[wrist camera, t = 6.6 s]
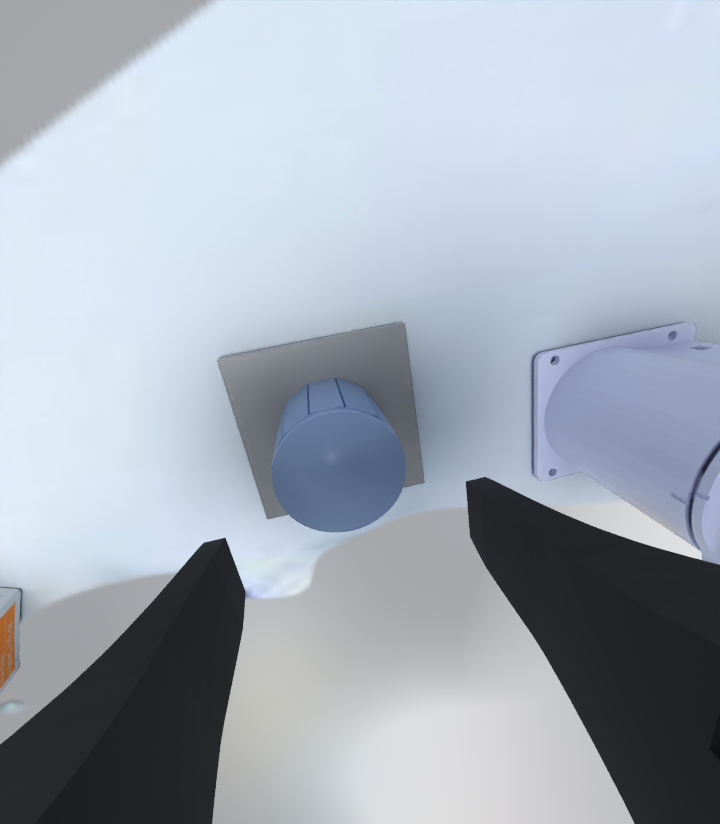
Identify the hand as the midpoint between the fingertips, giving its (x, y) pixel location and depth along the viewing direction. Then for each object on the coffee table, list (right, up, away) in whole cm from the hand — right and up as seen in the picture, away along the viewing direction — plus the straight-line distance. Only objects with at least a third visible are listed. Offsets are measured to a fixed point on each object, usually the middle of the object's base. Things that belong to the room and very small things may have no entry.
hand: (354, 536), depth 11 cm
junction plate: (-1, +3, +9) cm, 9 cm away
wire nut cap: (-1, +3, +8) cm, 9 cm away
